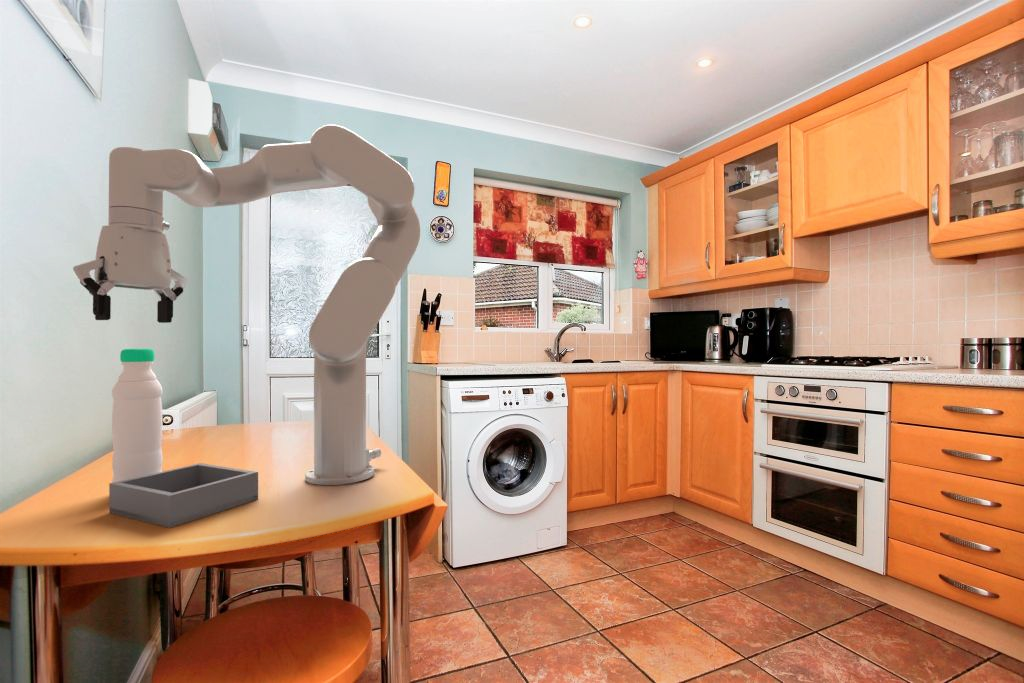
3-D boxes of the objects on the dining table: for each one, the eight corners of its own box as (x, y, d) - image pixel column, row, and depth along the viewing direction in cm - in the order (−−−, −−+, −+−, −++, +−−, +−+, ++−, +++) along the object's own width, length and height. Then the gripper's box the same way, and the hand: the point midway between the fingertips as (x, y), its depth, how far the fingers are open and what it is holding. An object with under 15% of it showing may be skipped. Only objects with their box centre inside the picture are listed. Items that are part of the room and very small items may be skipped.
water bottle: (170, 490, 88) (170, 348, 88) (123, 501, 82) (123, 349, 82) (151, 484, 91) (150, 348, 92) (104, 494, 85) (104, 348, 85)
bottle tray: (200, 488, 89) (199, 463, 89) (258, 499, 83) (258, 472, 83) (109, 512, 76) (109, 483, 76) (169, 527, 70) (169, 495, 70)
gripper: (174, 234, 96) (173, 323, 96) (63, 213, 80) (62, 319, 80) (199, 231, 93) (198, 323, 93) (88, 208, 77) (87, 318, 77)
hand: (135, 321), depth 87 cm, fingers open, 9 cm apart
